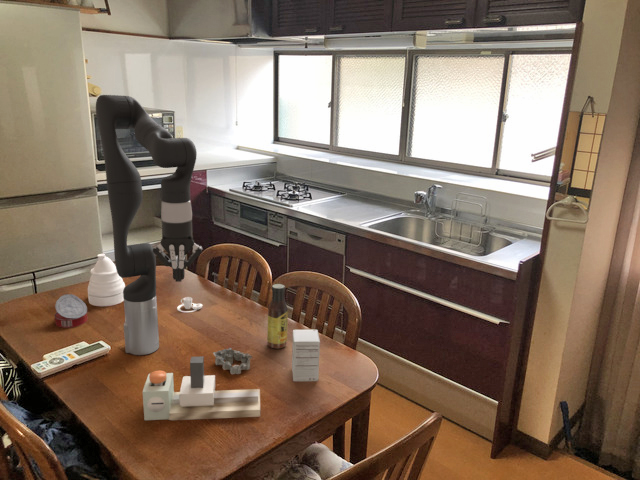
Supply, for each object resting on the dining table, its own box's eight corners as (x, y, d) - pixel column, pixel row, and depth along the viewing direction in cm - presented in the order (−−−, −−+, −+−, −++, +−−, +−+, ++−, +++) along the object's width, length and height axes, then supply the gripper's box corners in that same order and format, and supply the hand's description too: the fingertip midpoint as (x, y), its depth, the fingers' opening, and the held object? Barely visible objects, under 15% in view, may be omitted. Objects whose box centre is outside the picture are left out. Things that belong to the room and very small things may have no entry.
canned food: (83, 327, 181) (95, 301, 181) (80, 337, 172) (93, 310, 172) (49, 315, 177) (62, 289, 177) (44, 325, 168) (58, 298, 168)
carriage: (179, 410, 127) (178, 368, 124) (183, 391, 135) (182, 351, 131) (213, 409, 128) (212, 367, 125) (215, 390, 136) (214, 351, 132)
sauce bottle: (284, 350, 162) (285, 291, 156) (264, 348, 163) (265, 289, 157) (289, 341, 168) (290, 283, 162) (270, 338, 169) (271, 281, 163)
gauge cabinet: (144, 421, 126) (142, 393, 124) (150, 400, 134) (148, 373, 132) (169, 420, 127) (168, 392, 125) (174, 400, 135) (173, 372, 133)
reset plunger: (149, 401, 128) (147, 379, 126) (152, 392, 131) (150, 370, 129) (166, 401, 128) (165, 379, 126) (168, 391, 132) (167, 370, 130)
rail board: (169, 420, 127) (168, 408, 126) (174, 398, 135) (174, 387, 134) (260, 416, 130) (260, 404, 129) (259, 395, 138) (259, 384, 137)
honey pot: (118, 307, 187) (114, 259, 182) (82, 305, 187) (77, 258, 182) (131, 293, 199) (127, 248, 194) (97, 291, 199) (93, 246, 194)
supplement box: (291, 367, 152) (292, 328, 149) (316, 367, 153) (318, 328, 149) (292, 382, 145) (293, 341, 142) (318, 381, 146) (320, 341, 142)
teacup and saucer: (205, 308, 190) (205, 298, 188) (189, 316, 183) (189, 305, 182) (188, 302, 194) (188, 292, 193) (172, 309, 188) (171, 299, 186)
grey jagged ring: (254, 368, 152) (254, 356, 150) (232, 377, 146) (232, 365, 145) (232, 354, 159) (232, 342, 158) (211, 362, 154) (211, 350, 152)
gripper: (146, 221, 128) (150, 286, 133) (201, 222, 130) (203, 286, 135) (152, 213, 135) (155, 275, 140) (204, 214, 137) (205, 275, 142)
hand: (179, 280), depth 138 cm, fingers closed
